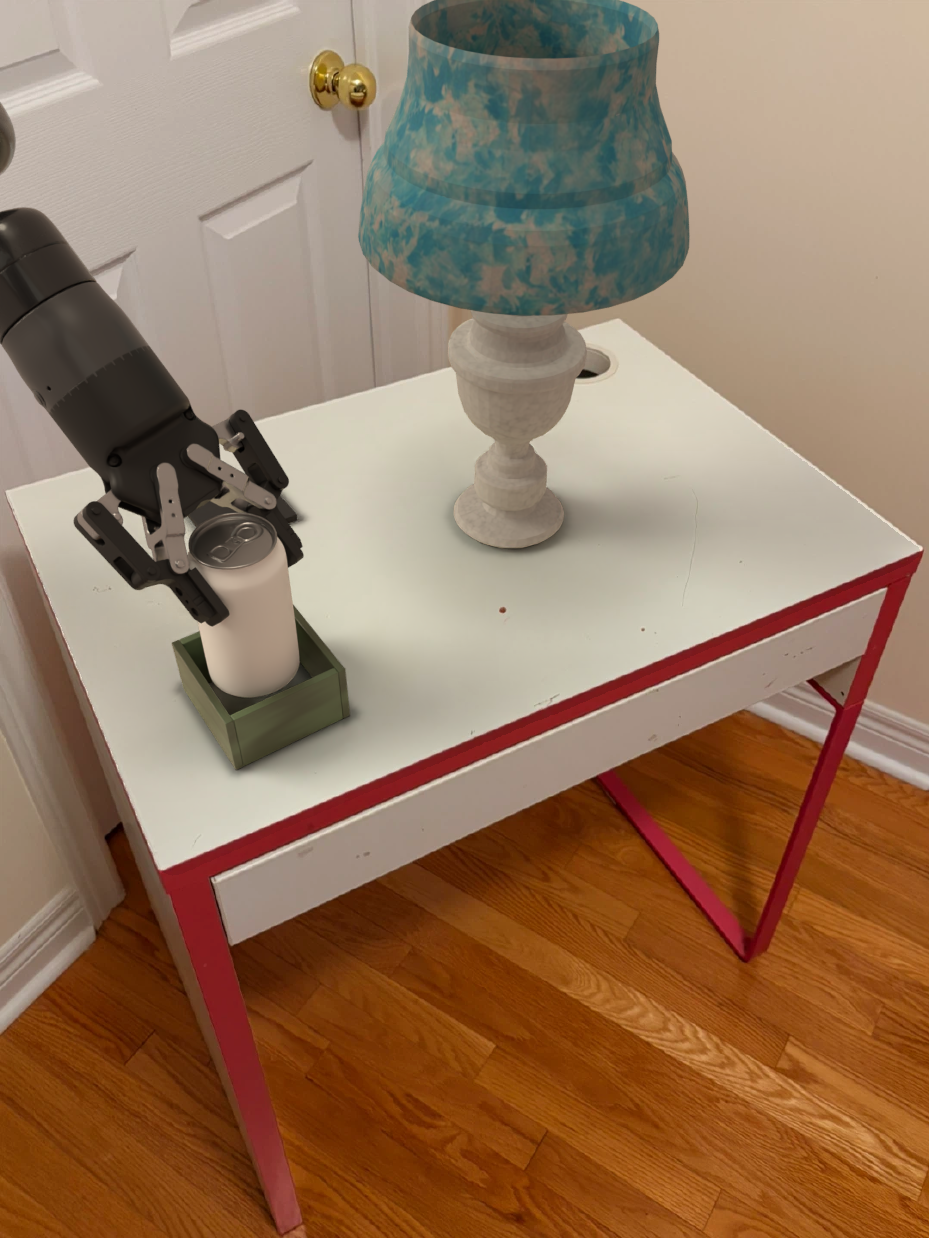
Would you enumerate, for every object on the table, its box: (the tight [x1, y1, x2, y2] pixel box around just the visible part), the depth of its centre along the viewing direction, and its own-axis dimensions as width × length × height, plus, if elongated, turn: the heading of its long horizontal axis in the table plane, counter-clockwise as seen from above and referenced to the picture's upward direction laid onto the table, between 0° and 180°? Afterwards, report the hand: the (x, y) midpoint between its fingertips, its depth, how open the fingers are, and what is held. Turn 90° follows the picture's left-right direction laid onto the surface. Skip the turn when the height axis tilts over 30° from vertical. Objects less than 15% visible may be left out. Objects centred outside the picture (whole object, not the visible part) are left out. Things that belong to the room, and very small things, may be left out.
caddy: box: [171, 604, 351, 771], centre depth 76 cm, size 9×9×5 cm
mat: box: [187, 495, 298, 528], centre depth 94 cm, size 8×8×1 cm
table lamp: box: [357, 0, 691, 549], centre depth 80 cm, size 24×24×40 cm
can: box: [187, 512, 300, 699], centre depth 71 cm, size 6×6×12 cm
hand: (258, 590), depth 69 cm, fingers closed on can, 6 cm apart
